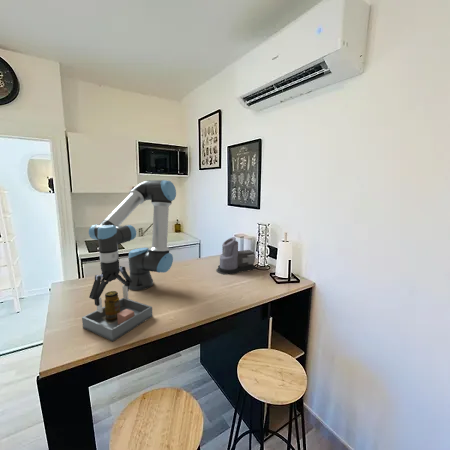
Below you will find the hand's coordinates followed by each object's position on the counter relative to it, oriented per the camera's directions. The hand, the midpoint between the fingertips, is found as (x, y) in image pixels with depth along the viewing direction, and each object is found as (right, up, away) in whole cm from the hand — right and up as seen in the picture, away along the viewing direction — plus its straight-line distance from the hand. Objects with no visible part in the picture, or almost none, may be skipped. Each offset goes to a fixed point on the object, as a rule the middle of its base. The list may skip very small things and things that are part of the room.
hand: (113, 304), depth 112 cm
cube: (+7, -7, -3) cm, 11 cm away
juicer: (+59, +3, +69) cm, 91 cm away
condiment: (0, -7, +1) cm, 7 cm away
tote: (+3, -8, -1) cm, 8 cm away
